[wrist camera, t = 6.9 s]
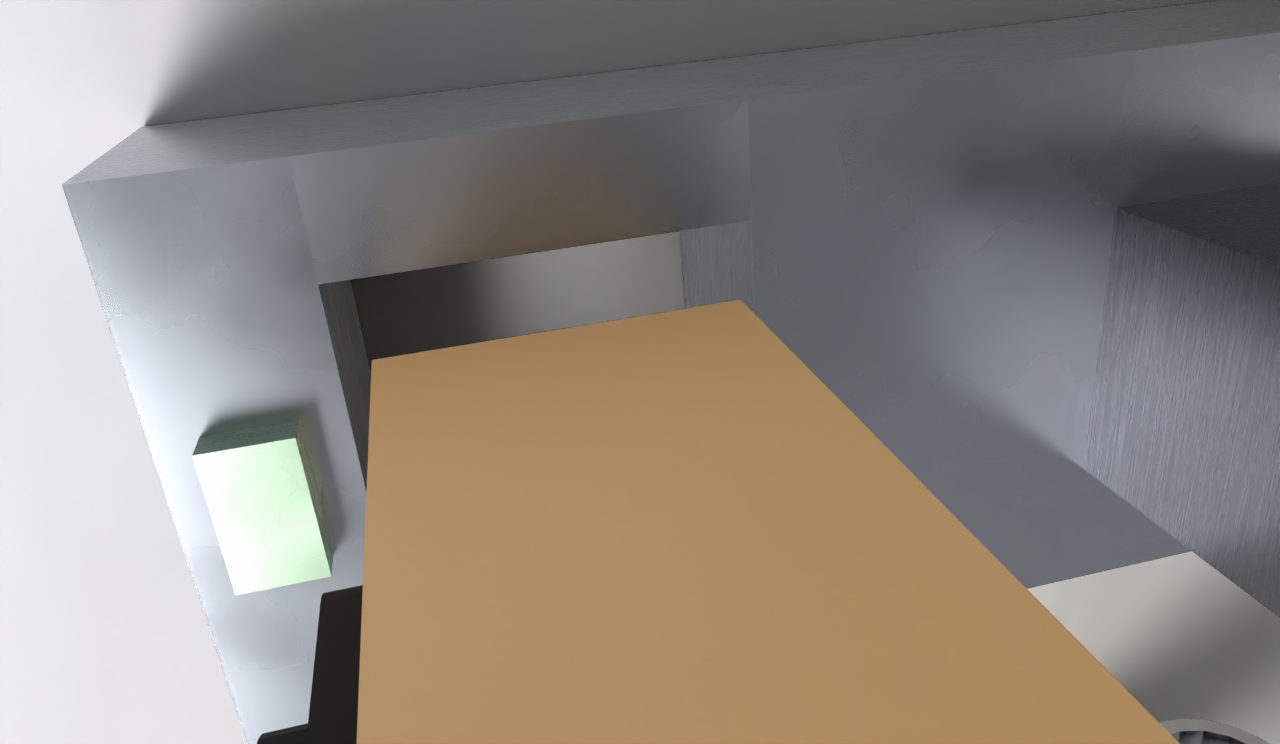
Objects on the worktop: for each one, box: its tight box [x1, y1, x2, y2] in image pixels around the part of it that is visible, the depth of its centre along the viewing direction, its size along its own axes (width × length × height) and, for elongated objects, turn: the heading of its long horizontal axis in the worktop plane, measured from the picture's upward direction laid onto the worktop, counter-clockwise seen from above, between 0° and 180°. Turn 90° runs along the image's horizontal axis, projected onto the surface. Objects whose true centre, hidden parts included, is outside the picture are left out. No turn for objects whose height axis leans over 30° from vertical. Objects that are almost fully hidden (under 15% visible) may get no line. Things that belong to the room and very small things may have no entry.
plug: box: [357, 300, 1180, 744], centre depth 10 cm, size 5×5×10 cm
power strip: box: [62, 0, 1280, 744], centre depth 16 cm, size 24×10×10 cm, turn 95°
